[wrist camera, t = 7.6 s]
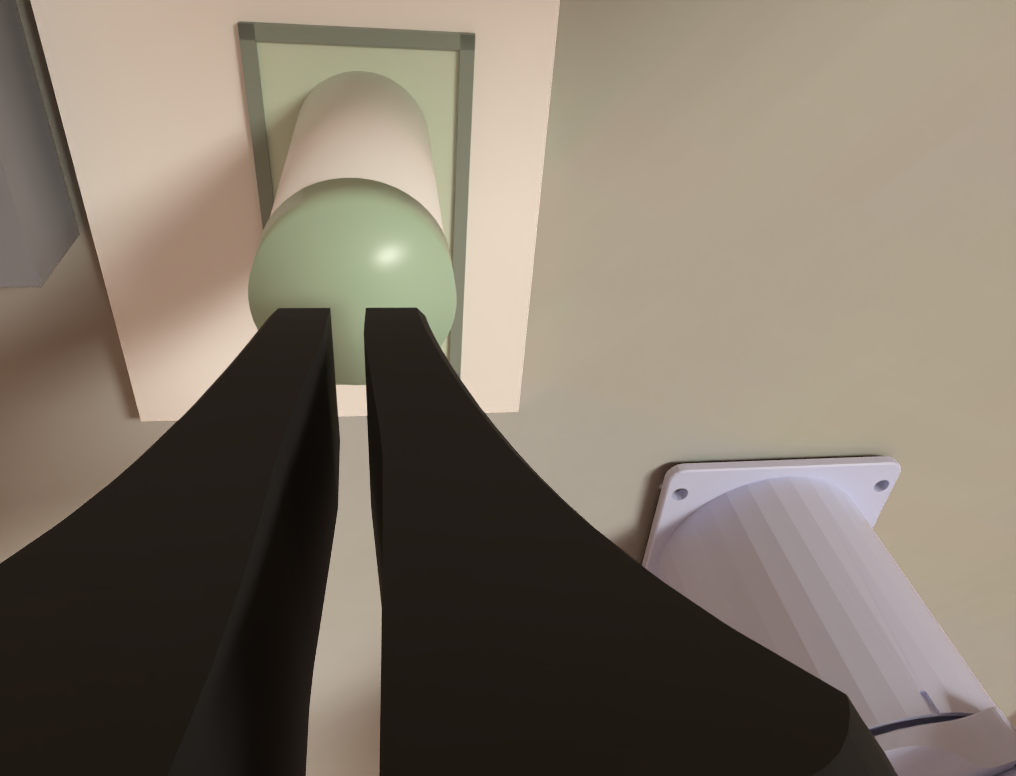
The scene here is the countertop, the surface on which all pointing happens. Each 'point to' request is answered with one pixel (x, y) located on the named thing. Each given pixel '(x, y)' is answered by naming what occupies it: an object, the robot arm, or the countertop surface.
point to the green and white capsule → (356, 217)
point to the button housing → (28, 169)
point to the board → (262, 154)
